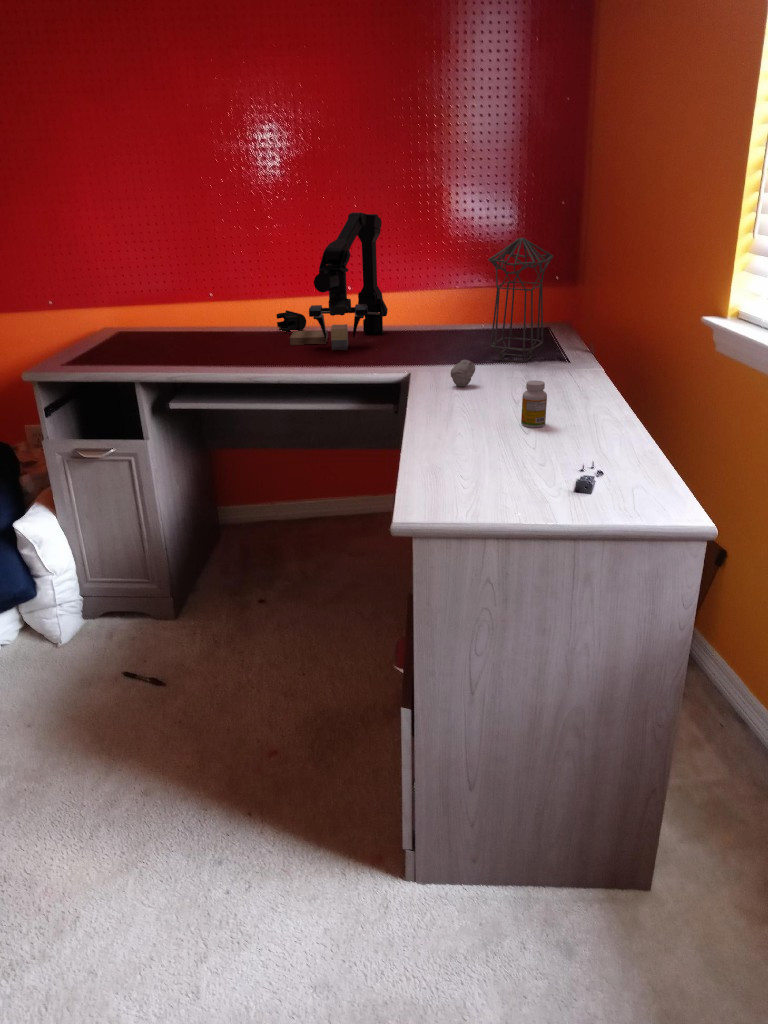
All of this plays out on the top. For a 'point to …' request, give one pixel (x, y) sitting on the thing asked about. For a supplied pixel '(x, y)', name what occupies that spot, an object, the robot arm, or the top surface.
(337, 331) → the block
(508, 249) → the geometric lantern
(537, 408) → the supplement bottle
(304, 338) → the walnut stand
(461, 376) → the grey rock
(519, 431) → the top surface
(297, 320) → the end cap
